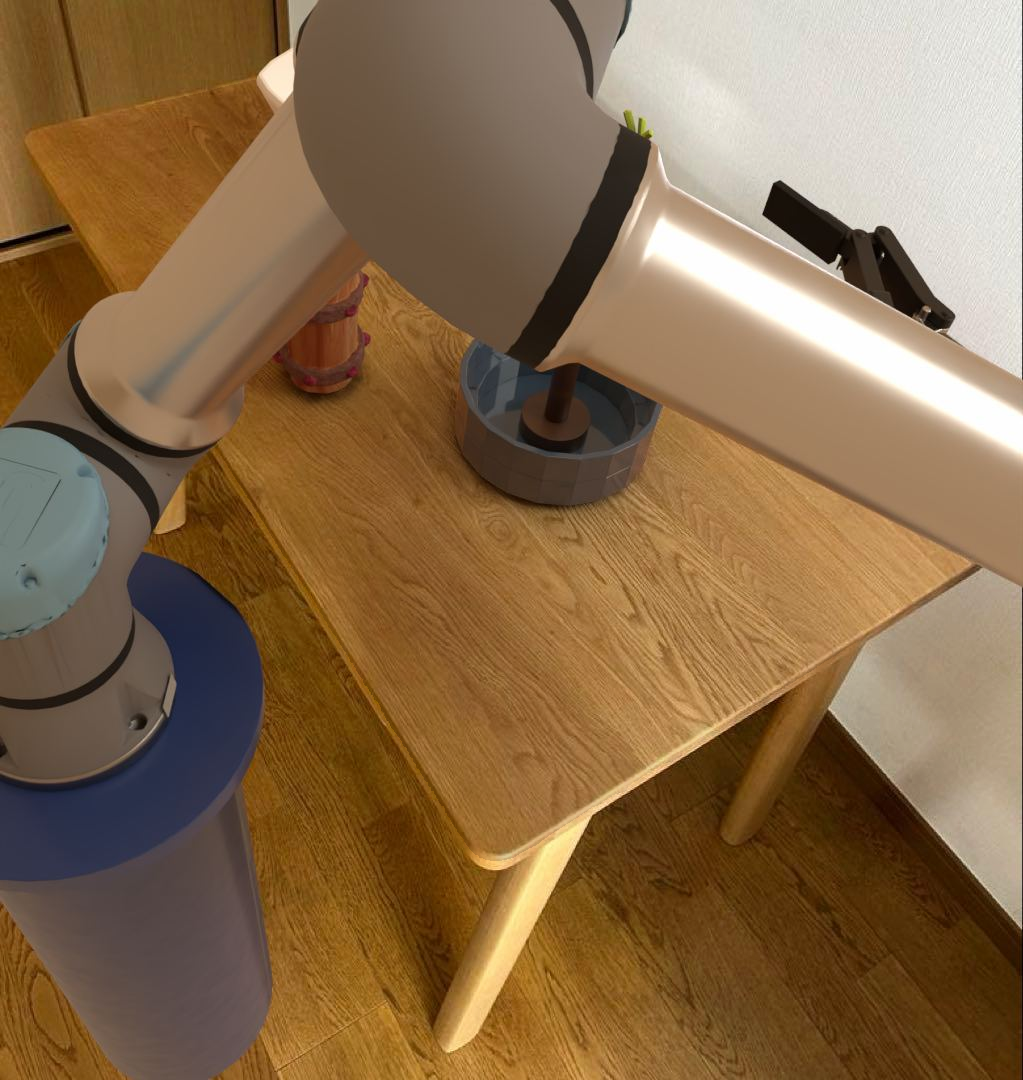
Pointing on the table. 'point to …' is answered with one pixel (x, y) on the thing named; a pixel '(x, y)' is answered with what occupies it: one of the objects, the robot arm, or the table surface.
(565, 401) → the paper towel holder
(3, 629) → the robot arm
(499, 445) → the glazed bowl
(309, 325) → the mug
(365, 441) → the table surface
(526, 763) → the table surface
